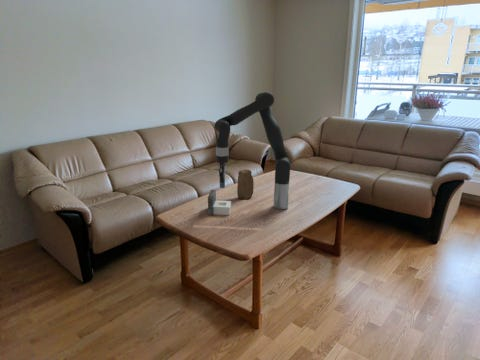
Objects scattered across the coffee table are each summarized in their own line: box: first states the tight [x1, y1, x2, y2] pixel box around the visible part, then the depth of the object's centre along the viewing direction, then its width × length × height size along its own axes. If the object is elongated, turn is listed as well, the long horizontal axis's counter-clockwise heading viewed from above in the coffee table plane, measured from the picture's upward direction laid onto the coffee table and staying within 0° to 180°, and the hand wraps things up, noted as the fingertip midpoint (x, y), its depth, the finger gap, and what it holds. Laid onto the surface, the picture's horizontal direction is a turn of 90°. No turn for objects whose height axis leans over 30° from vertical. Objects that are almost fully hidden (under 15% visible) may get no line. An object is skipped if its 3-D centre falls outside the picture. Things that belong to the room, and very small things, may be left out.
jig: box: [207, 189, 217, 216], centre depth 213 cm, size 20×13×13 cm, turn 86°
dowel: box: [219, 171, 226, 189], centre depth 208 cm, size 3×3×12 cm
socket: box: [213, 200, 232, 216], centre depth 214 cm, size 10×10×5 cm
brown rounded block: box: [236, 168, 255, 200], centre depth 238 cm, size 11×8×20 cm
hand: (222, 181), depth 209 cm, fingers closed on dowel, 3 cm apart
